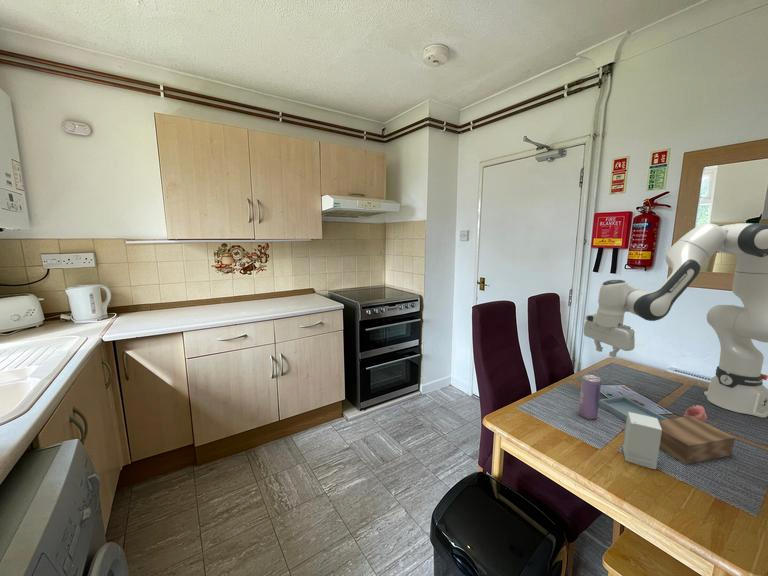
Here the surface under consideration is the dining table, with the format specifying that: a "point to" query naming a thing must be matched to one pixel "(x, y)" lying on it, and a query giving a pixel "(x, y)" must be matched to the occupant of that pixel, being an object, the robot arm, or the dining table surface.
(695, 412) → the flower
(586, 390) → the beverage can
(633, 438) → the supplement box
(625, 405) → the grey-blue tray
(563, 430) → the dining table surface
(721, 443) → the cubby
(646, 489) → the dining table surface
